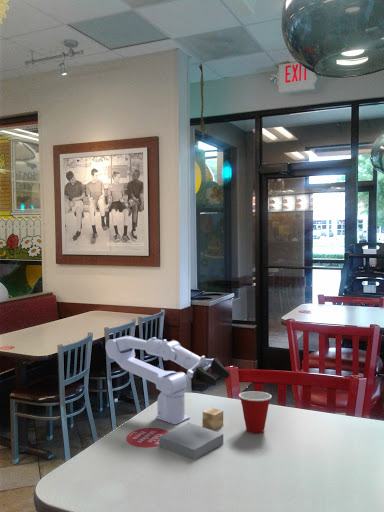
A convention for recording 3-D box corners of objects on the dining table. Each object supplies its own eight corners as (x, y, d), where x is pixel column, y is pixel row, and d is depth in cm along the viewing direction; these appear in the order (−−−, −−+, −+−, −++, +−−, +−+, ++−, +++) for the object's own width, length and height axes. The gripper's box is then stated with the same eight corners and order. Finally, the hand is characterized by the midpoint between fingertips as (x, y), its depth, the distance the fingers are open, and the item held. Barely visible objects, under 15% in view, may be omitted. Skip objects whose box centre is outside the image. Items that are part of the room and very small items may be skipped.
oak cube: (202, 426, 160) (202, 411, 160) (211, 421, 164) (211, 407, 164) (214, 430, 157) (214, 415, 157) (223, 425, 161) (223, 410, 161)
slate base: (159, 446, 145) (159, 436, 145) (189, 431, 156) (188, 422, 156) (194, 460, 136) (194, 449, 136) (223, 443, 147) (223, 433, 147)
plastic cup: (270, 423, 162) (270, 389, 161) (272, 437, 151) (272, 400, 150) (238, 422, 163) (238, 388, 162) (238, 436, 152) (238, 399, 151)
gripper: (178, 356, 155) (211, 374, 147) (204, 345, 166) (236, 361, 158) (175, 375, 157) (207, 394, 149) (201, 363, 168) (232, 380, 160)
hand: (222, 378), depth 154 cm, fingers open, 7 cm apart
